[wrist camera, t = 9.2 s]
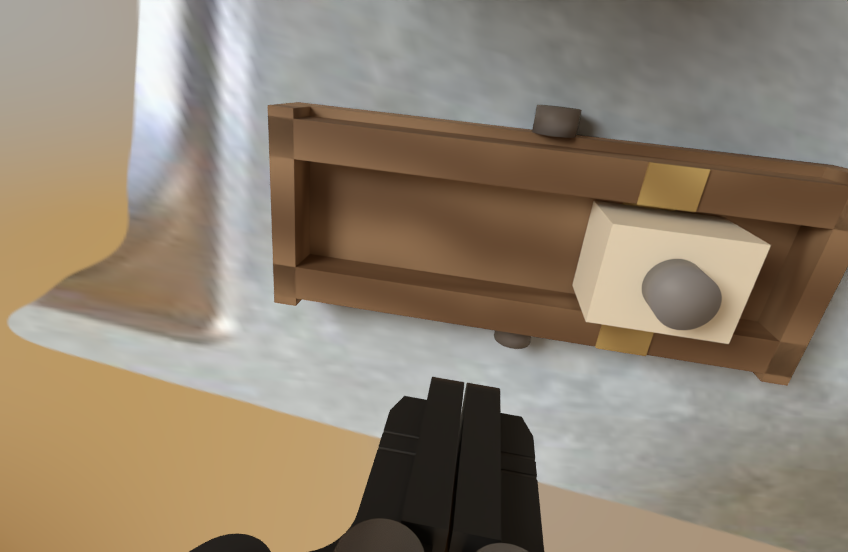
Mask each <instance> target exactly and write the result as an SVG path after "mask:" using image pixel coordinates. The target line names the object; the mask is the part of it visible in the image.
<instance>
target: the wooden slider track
mask: <svg viewBox="0 0 848 552" xmlns="http://www.w3.org/2000/svg"><path fill="white" fill-rule="evenodd" d="M581 111H582V110H580V109H573V108H566V107H558V106H548V105H537V108H536V114H535V119H534V125H533V130H530V129H521V128H513V127H504V126H496V125H487V124H479V123H470V122H462V121H453V120H445V119H436V118H428V117H419V116H411V115H402V114H394V113H385V112H377V111H368V110H360V109H351V108H343V107H334V106H326V105H317V104H309V103H300V102H296V103H286V104H275V105H268V129H269V158H270V186H271V215H272V244H273V273H274V302H275V303H282V304H288V305H294V306H296V305H297V304H298V303H299V302H300V301H301V300H302V299H303V300H309V301H316V302H322V303H328V304H334V305H340V306H347V307H353V308H359V309H365V310H372V311H378V312H384V313H390V314H396V315H403V316H409V317H415V318H421V319H428V320H434V321H440V322H446V323H453V324H459V325H465V326H471V327H477V328H484V329H490V330H495V334H494V338H495V340H496V341H497V342H498V343H500V344H501V345H503V346H506V347H509V348H514V349H521V348H525V347H527V346H528V345H529V343H530V339H531V336H533V337H540V338H546V339H552V340H558V341H565V342H571V343H577V344H583V345H589V346H595V347H596V348H598V349H604V350H611V351H617V352H623V353H629V354H636V355H642V356H646V355H652V356H658V357H664V358H670V359H677V360H683V361H689V362H695V363H701V364H708V365H714V366H720V367H726V368H733V369H739V370H745V371H751V372H753V373H754V374H755V375H756V376H757V377H758V378H759V380H760V381H762V382H768V383H774V384H781V385H788V383H789V381H790V379H791V377H792V375H793V373H794V371H795V369H796V367H797V365H798V363H799V361H800V359H801V357H802V356H803V354H804V352H805V350H806V348H807V346H808V344H809V342H810V340H811V338H812V336H813V334H814V332H815V330H816V328H817V326H818V324H819V322H820V320H821V318H822V316H823V314H824V312H825V310H826V308H827V306H828V304H829V302H830V300H831V298H832V296H833V294H834V292H835V290H836V288H837V287H838V285H839V283H840V281H841V279H842V277H843V275H844V273H845V271H846V269H847V267H848V169H847V168H843V167H839V166H835V165H828V164H819V163H811V162H802V161H794V160H785V159H777V158H768V157H760V156H751V155H743V154H734V153H726V152H717V151H709V150H700V149H691V148H683V147H674V146H666V145H657V144H649V143H640V142H632V141H623V140H615V139H606V138H598V137H589V136H581V135H576V133H577V128H578V124H579V120H580V115H581ZM593 201H601V202H608V203H616V204H623V205H631V206H639V207H646V208H654V209H662V210H669V211H677V212H685V213H692V214H700V215H708V216H715V217H723V218H726V219H728V220H729V221H731V222H733V223H734V224H736V225H738V226H739V227H741V228H743V229H744V230H746V231H748V232H750V233H751V234H753V235H755V236H756V237H758V238H760V239H761V240H763V241H765V242H766V243H768V244H770V245H771V246H770V249H769V251H768V253H767V256H766V258H765V260H764V263H763V265H762V267H761V270H760V272H759V274H758V277H757V279H756V281H755V284H754V286H753V289H752V291H751V293H750V296H749V298H748V300H747V303H746V305H745V307H744V310H743V312H742V314H741V317H740V319H739V321H738V324H737V326H736V328H735V331H734V333H733V335H732V338H731V340H730V342H729V344H725V343H719V342H712V341H706V340H699V339H693V338H686V337H680V336H674V335H667V334H661V333H654V332H648V331H642V330H635V329H629V328H622V327H616V326H609V325H603V324H597V323H590V322H586V321H585V318H584V316H583V313H582V310H581V307H580V305H579V302H578V299H577V297H576V294H575V291H574V288H573V286H572V285H573V281H574V277H575V273H576V269H577V265H578V261H579V257H580V253H581V249H582V245H583V241H584V237H585V233H586V229H587V225H588V221H589V217H590V213H591V209H592V205H593Z"/></svg>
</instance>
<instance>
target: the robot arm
mask: <svg viewBox="0 0 848 552" xmlns="http://www.w3.org/2000/svg"><path fill="white" fill-rule="evenodd" d="M463 390H464V382H459V381H454V380H448V379H442V378H437V377H432V379H431V384H430V388H429V393H428V398H427V400H424V399H419V398H413V397H408V396H404V397H403V398H402V399H401V400H400V401H399V402H398V403H397V404H396V405H395V406H394V407H393V408H392V409H391V410H390V412H389V415H388V418H387V421H386V425H385V428H384V432H383V434H382V437H381V440H380V444H379V448H378V450H377V453H376V457H375V459H374V463H373V466H372V469H371V472H370V475H369V479H368V482H367V485H366V488H365V491H364V494H363V498H362V501H361V504H360V507H359V510H358V513H357V516H356V518H355V520H354V522H353V524H352V525H351V527H350V528H349V529H348V530H347V531H346V533H345V534H343V535H342V536H341V537H340V538H339V539H338V540H336V541H335V542H333V543H332V544H330V545H328V546H326V547H324V548H321V549H318V550H315V551H310V552H544V545H543V535H542V524H541V514H540V503H539V493H538V482H537V480H536V477H537V472H536V462H535V451H534V440H533V435H532V434H531V432H530V430H529V429H528V427H527V425H526V423H525V422H524V420H523V418H522V417H520V416H515V415H509V414H503V413H500V388H495V387H489V386H483V385H478V384H472V383H467V384H466V389H465V395H464V401H463V406H462V400H463ZM461 409H462V412H461ZM190 552H271V551H270V550H269V548H268V547H267V546H266V545H265V544H264V543H263V542H262V541H261V540H259V539H257V538H255V537H253V536H250V535H246V534H228V535H223V536H219V537H217V538H214V539H211V540H209V541H207V542H205V543H203V544H201V545H200V546H198V547H196V548H195V549H193V550H191V551H190Z"/></svg>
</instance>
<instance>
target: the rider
mask: <svg viewBox="0 0 848 552" xmlns="http://www.w3.org/2000/svg"><path fill="white" fill-rule="evenodd" d="M770 246H771V245H770V244H768V243H766V242H765V241H763V240H761V239H760V238H758V237H756V236H755V235H753V234H751V233H750V232H748V231H746V230H744V229H743V228H741V227H739V226H738V225H736V224H734V223H733V222H731V221H729V220H728V219H726V218H723V217H715V216H708V215H700V214H692V213H685V212H677V211H669V210H662V209H654V208H646V207H639V206H631V205H623V204H616V203H608V202H601V201H593V205H592V209H591V213H590V217H589V221H588V225H587V229H586V233H585V237H584V241H583V245H582V249H581V253H580V257H579V261H578V265H577V269H576V273H575V277H574V281H573V285H572V286H573V288H574V291H575V294H576V297H577V299H578V302H579V305H580V307H581V310H582V313H583V316H584V318H585V321H586V322H590V323H597V324H603V325H609V326H616V327H622V328H629V329H635V330H642V331H648V332H654V333H661V334H667V335H674V336H680V337H686V338H693V339H699V340H706V341H712V342H719V343H725V344H729V342H730V340H731V338H732V335H733V333H734V331H735V328H736V326H737V324H738V321H739V319H740V317H741V314H742V312H743V310H744V307H745V305H746V303H747V300H748V298H749V296H750V293H751V291H752V289H753V286H754V284H755V281H756V279H757V277H758V274H759V272H760V270H761V267H762V265H763V263H764V260H765V258H766V256H767V253H768V251H769V249H770Z"/></svg>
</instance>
